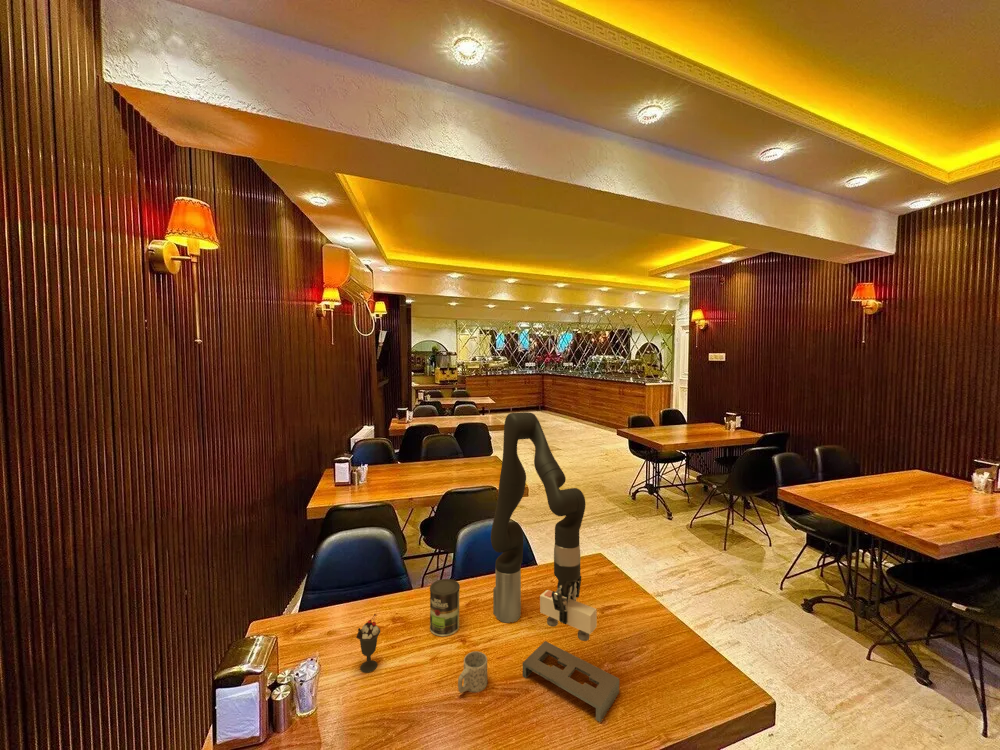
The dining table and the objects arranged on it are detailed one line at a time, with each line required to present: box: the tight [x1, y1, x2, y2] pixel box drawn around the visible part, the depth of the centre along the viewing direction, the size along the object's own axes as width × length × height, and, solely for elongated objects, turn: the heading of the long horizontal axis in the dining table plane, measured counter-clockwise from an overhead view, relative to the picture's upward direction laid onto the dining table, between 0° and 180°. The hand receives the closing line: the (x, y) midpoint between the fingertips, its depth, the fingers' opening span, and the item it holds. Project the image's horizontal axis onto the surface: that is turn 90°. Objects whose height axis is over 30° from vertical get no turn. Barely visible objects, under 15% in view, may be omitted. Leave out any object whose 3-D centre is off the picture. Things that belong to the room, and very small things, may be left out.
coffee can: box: [429, 578, 461, 638], centre depth 135 cm, size 10×10×14 cm
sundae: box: [356, 613, 381, 674], centre depth 117 cm, size 7×7×15 cm
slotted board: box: [522, 640, 620, 723], centre depth 110 cm, size 24×12×4 cm, turn 51°
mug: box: [457, 650, 488, 694], centre depth 109 cm, size 10×7×7 cm, turn 141°
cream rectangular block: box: [539, 589, 598, 642], centre depth 112 cm, size 16×4×8 cm, turn 52°
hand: (567, 618), depth 112 cm, fingers closed on cream rectangular block, 4 cm apart
